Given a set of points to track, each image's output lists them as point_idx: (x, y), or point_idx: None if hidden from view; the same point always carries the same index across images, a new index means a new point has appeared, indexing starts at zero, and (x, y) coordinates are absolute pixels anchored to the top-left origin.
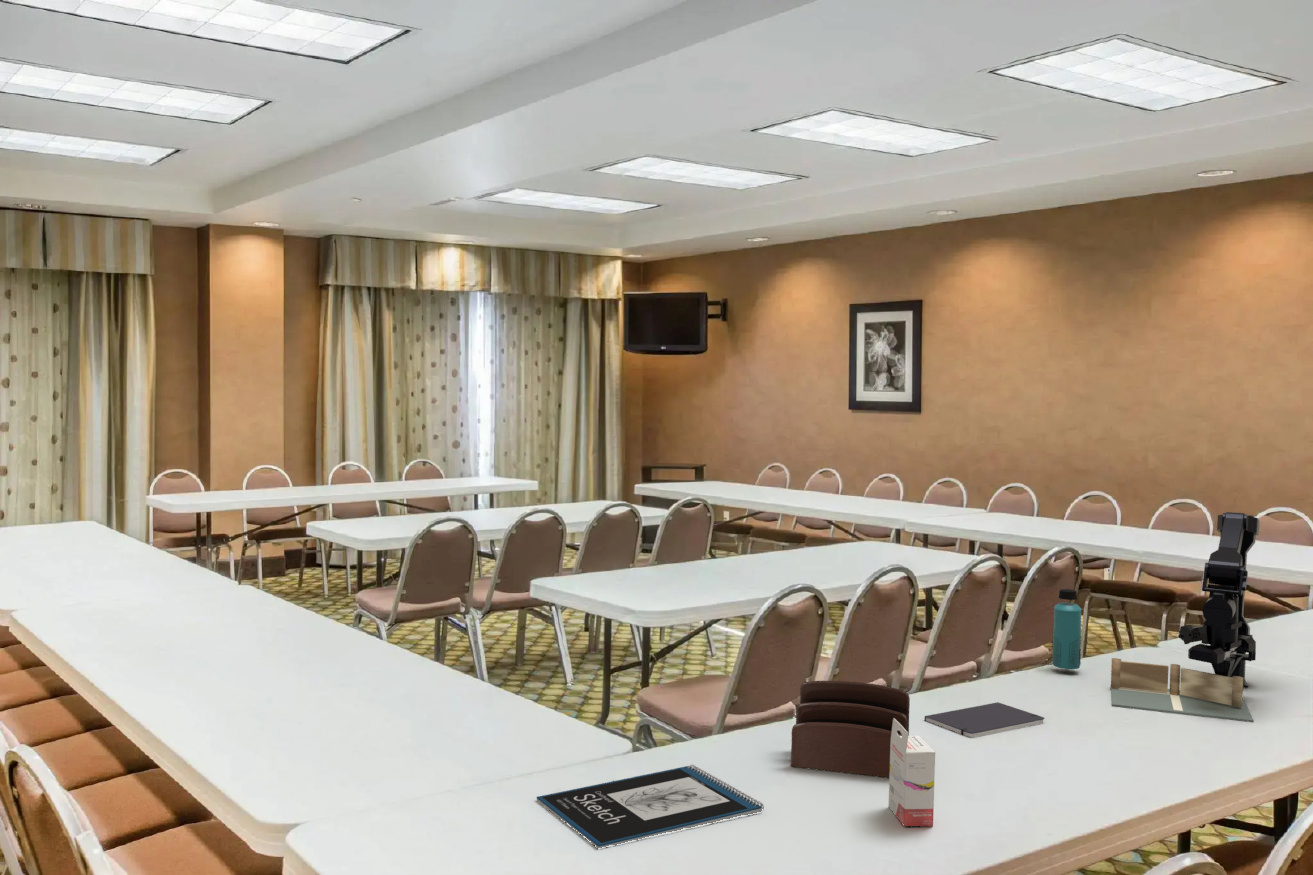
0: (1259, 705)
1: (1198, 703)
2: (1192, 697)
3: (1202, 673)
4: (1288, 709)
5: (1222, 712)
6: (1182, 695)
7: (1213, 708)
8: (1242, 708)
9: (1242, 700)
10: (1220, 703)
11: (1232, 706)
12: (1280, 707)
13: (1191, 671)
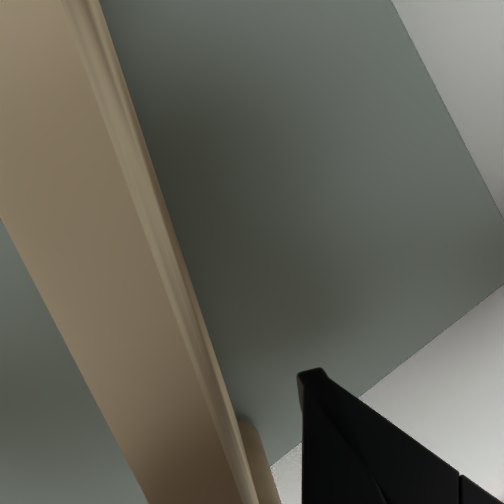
0: (443, 389)
1: (21, 282)
2: (145, 115)
3: (119, 436)
4: (484, 469)
5: (11, 495)
6: (103, 2)
7: (28, 418)
8: None
9: (433, 327)
10: (218, 335)
11: None
12: (491, 438)
13: (21, 248)
